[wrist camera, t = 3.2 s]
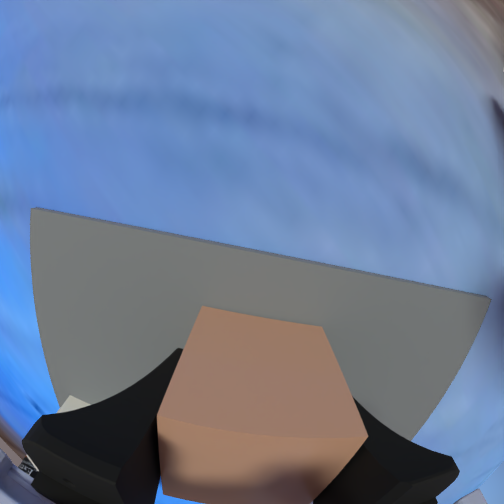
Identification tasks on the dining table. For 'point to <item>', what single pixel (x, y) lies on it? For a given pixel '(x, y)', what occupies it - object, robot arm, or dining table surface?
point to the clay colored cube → (255, 413)
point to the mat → (240, 301)
